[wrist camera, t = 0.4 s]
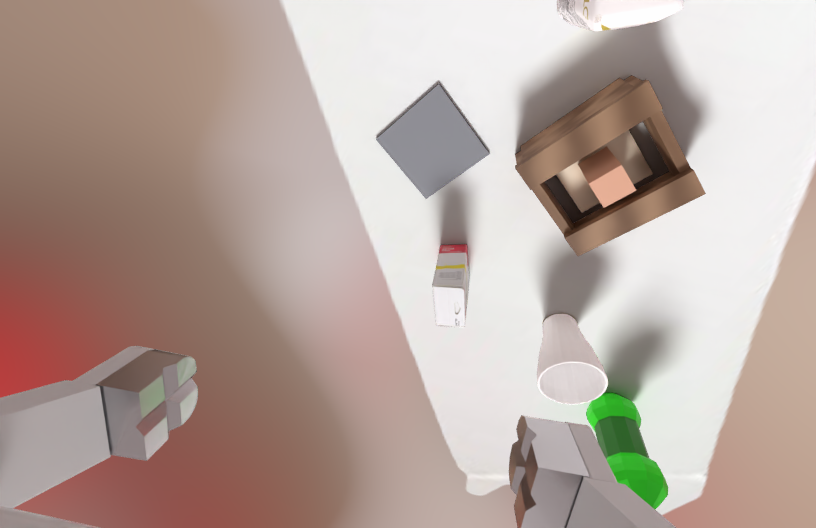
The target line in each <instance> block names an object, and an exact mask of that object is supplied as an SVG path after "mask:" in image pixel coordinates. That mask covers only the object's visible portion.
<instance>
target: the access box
mask: <svg viewBox="0 0 816 528" xmlns="http://www.w3.org/2000/svg"><path fill="white" fill-rule="evenodd" d="M662 109H663V108H662V106H661V104H660V102H659V100H658V98H657V96H656V94H655V92H654V90H653V88H652V86H651V84H650V82H649V81H648V80H646V79H645V80H644V81H642V80H640V79H638V78H636V77H634V76H632V75H631V76H630V77H628V78H627V79H625V80H622V79H621V78H619V79H617V80H616V81H614V82H613V83H611V84H610V85H609V86H607V87H606V88H604V89H603V90H601V91H600V92H598V93H597V94H595V95H594V96H593V97H591V98H590V99H588V100H587V101H585V102H584V103H582V104H581V105H579V106H578V107H577V108H575V109H574V110H572V111H571V112H569V113H568V114H566V115H565V116H563V117H562V118H561V119H559V120H558V121H556V122H555V123H553V124H552V125H550V126H549V127H547V128H546V129H545V130H543V131H542V132H540V133H539V134H537V135H536V136H534V137H533V138H531V139H530V140H529V141H527V142H526V143H524V144H523V145H521V146H520V147H521V151H520V152H518V153H517V154H515V157H516V163H517V165H516V166H515V168H516V170H517V171H518V173H519V174H520V176H521V177H522V178H523V180H524V181H525V183H526V184H527V185H528V187H529V188H530V190H533V192H534V193H535V195H536V196H537V198H538V199H539V200H540V202H541V203H542V205H543V206H544V207H545V209H546V210H547V212H548V213H549V215H550V216H551V217H552V219H553V220H554V222H555V223H556V224H557V226H558V227H559V229H560V230H561V231H562V233H563V234H564V237H565V239H566V241H567V242H568V243H569V245H570V246H571V248H572V249H573V250H574V252H575V253H576V255H577V256H580V255H582V254H584V253H586V252H588V251H590V250H592V249H594V248H596V247H598V246H600V245H602V244H604V243H606V242H608V241H610V240H612V239H614V238H616V237H619V236H621V235H623V234H625V233H627V232H629V231H631V230H633V229H635V228H637V227H639V226H641V225H643V224H645V223H647V222H649V221H651V220H653V219H655V218H657V217H659V216H661V215H663V214H665V213H668V212H670V211H672V210H674V209H676V208H678V207H680V206H682V205H684V204H686V203H688V202H690V201H692V200H694V199H696V198H698V197H700V196H702V195H704V194H706V193H705V191H704V190H703V188H702V186H701V184H700V182H699V180H698V178H697V176H696V174H695V172H694V170H693V169H691V168H690V166H689V164H688V162H687V160H686V158H685V156H684V154H683V152H682V150H681V148H680V146H679V144H678V142H677V140H676V138H675V136H674V134H673V132H672V130H671V128H670V126H669V124H668V122H667V120H666V118H665V116H664V114H663V113H662V111H661V110H662ZM642 121H643V123H644V125H645V126H646V128H647V130H648V132H649V134H650V136H651V138H652V140H653V142H654V143H655V145H656V147H657V149H658V151H659V153H660V155H661V157H662V158H663V160H664V162H665V164H666V166H667V168H668V170H669V172H667V173H665V174H664V175H662V176H660V177H658V178H656V179H654V180H652V181H651V182H649V183H647V184H645V185H643V186H641V187H639V188H638V189H636V191H634V192H633V193H631V194H629V195H627V196H625V197H623V198H621V199H620V200H618V201H616V202H614V203H612V204H610V205H608V206H606V207H605V208H603V207H602V208H600V209H598V210H597V211H595V212H593V213H591V214H589V215H587V216H585V217H584V218H582V219H580V220H578V221H576V222H574V223H573V222H572V221H571V220H570V218H569V217H568V215H567V214H566V212H565V211H564V209H563V208H562V206H561V205H560V203H559V202H558V201H557V199H556V198H555V196H554V195H553V193H552V192H551V190H550V189H549V187H548V186H547V184H546V183H545V181H546V180H548V179H550V178H551V177H553V176H554V175H557V177H558V178H559V180H560V181H561V183H562V184H563V186H564V187H565V189H566V190H567V192H568V193H569V195H570V196H571V198H572V199H573V201H574V202H575V204H576V205H577V207H578V208H579V210H580V211H581V213H582V212H584V211H586V210H588V209H590V208H591V207H593V206H595V205H597V204H599V203H600V201H599V200H598V198H597V197H596V195H595V193H594V192H593V190H592V189H591V187H590V185H589V184H588V182H587V180H586V178H585V177H584V175H583V173H582V171H581V169H580V167H579V165H578V164H579V163H581V162H582V161H584V160H585V159H587V158H589V157H590V156H592V155H594V154H595V153H597V152H599V151H600V150H602V149H603V148H605V147H608V149H609V150H610V151H611V152H612V154H613V155H614V156H615V157H616V158H617V160H618V161H619V162H620V163H621V165H622V166H623V168H624V170H625V171H626V173H627V175H628V177H629V178H630V180H631V182H632V183H633V185H634V184H635V183H637V182H639V181H641V180H643V179H645V178H646V177H648V176H650V175H652V174H653V173H652V171H651V169H650V167H649V166H648V164H647V162H646V160H645V158H644V157H643V155H642V153H641V151H640V149H639V148H638V146H637V144H636V142H635V140H634V139H633V137H632V135H631V133H630V131H629V129H631V128H632V127H634V126H636V125H637V124H639V123H641V122H642Z"/></svg>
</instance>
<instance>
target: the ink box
mask: <svg viewBox="0 0 816 528" xmlns="http://www.w3.org/2000/svg"><path fill="white" fill-rule="evenodd" d="M432 287H433V300H434V311H435V321H436V325H437V326H447V327H465V320H466V310H467V300H468V291H469V268H468V252H467V244H462V245H441V246H440V250H439V255H438V260H437V265H436V270H435V274H434V279H433V284H432Z"/></svg>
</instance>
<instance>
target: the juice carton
mask: <svg viewBox="0 0 816 528" xmlns="http://www.w3.org/2000/svg"><path fill="white" fill-rule="evenodd" d="M683 1H684V0H557V11H558V14H559V15H560V17H561V18H563V19H564V20H565V21H566V22H568V23H569V24H571V25H574V26H578V27H582V28H585V29H589V30H593V31H603V30H609V29H612V30H616V29H623V28H629V27H636V26H639V25H643V24H648V23H653V22H657V21H660V20H662V19H664V18H666V17H668V16H670V15H672V14H674V13H677V12H678V11H680V10H681V9H683Z"/></svg>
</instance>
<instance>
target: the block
mask: <svg viewBox="0 0 816 528" xmlns="http://www.w3.org/2000/svg"><path fill="white" fill-rule="evenodd" d="M578 165H579V167H580V169H581V171H582V173H583V175H584V177H585V178H586V180H587V182H588V184H589V185H590V187H591V189H592V190H593V192H594V193H595V195H596V197H597V198H598V200H599V201H600V203H601V204H602V206H603V208H605V207H606V206H608V205H610V204H612V203H614V202H616V201H618V200H620V199H621V198H623V197H625V196H627V195H629V194H631V193H633V192H634V191H636V189H635V187H634V185H633V183H632V182H631V180H630V178H629V177H628V175H627V173H626V171H625V170H624V168H623V166H622V165H621V163H620V162H619V161H618V160H617V158H616V157H615V156H614V155H613V154H612V152H611V151H610V150H609V149H608V147H605V148H603V149H602V150H600V151H599V152H597V153H595V154H594V155H592V156H590V157H589V158H587V159H585V160H584V161H582V162H581V163H579V164H578Z"/></svg>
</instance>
